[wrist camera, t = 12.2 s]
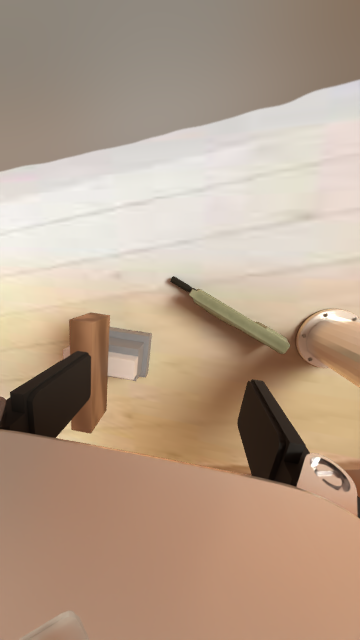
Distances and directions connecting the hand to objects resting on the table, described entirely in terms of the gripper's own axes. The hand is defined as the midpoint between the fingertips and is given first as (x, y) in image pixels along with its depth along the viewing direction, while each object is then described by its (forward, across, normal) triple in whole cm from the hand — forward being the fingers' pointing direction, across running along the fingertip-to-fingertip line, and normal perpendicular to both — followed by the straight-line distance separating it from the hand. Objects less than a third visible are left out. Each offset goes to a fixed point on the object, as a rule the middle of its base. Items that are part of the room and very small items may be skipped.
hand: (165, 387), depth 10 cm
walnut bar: (+20, +15, +12) cm, 28 cm away
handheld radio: (+29, -8, -1) cm, 30 cm away
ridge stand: (+28, +15, +12) cm, 34 cm away
